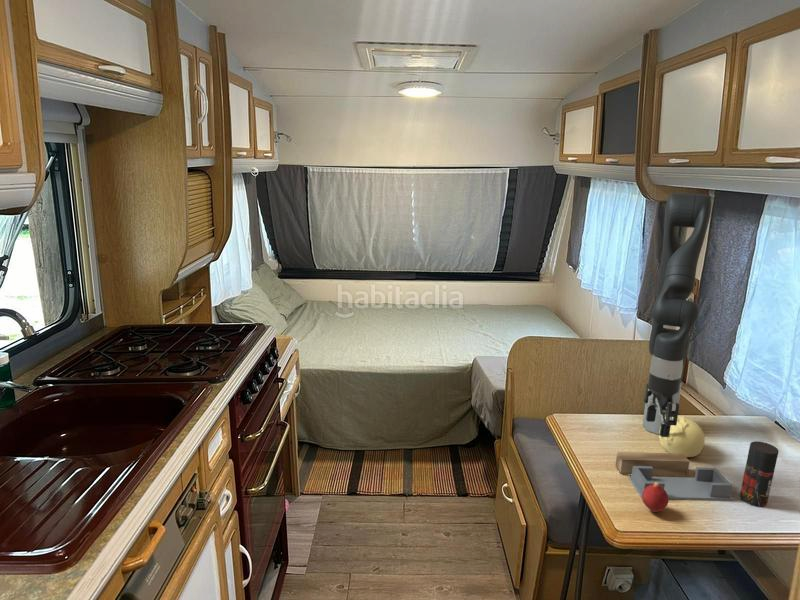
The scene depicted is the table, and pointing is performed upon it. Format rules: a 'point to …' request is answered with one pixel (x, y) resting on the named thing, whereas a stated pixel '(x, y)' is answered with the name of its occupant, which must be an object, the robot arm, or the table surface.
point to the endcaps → (685, 484)
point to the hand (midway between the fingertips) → (656, 428)
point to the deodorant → (758, 473)
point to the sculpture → (684, 438)
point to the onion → (655, 497)
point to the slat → (653, 463)
